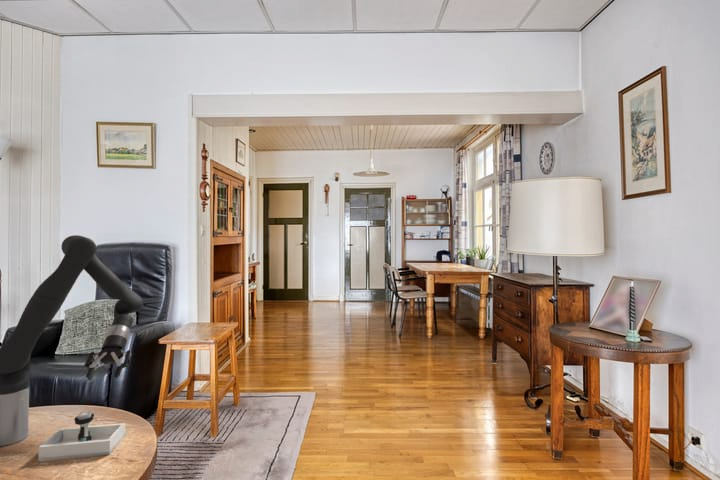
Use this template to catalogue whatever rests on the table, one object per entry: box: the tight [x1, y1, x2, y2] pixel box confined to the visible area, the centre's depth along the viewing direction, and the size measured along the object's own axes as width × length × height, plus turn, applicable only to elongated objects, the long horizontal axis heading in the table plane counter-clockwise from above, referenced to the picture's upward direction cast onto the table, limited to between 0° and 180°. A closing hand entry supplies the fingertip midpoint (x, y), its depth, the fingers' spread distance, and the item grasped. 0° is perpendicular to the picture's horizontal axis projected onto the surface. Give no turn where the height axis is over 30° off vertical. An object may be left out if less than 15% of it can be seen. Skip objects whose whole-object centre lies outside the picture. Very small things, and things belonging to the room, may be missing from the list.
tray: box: [37, 422, 126, 462], centre depth 123 cm, size 20×12×4 cm, turn 102°
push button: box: [73, 411, 95, 442], centre depth 124 cm, size 7×5×10 cm
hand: (102, 378), depth 135 cm, fingers open, 8 cm apart
